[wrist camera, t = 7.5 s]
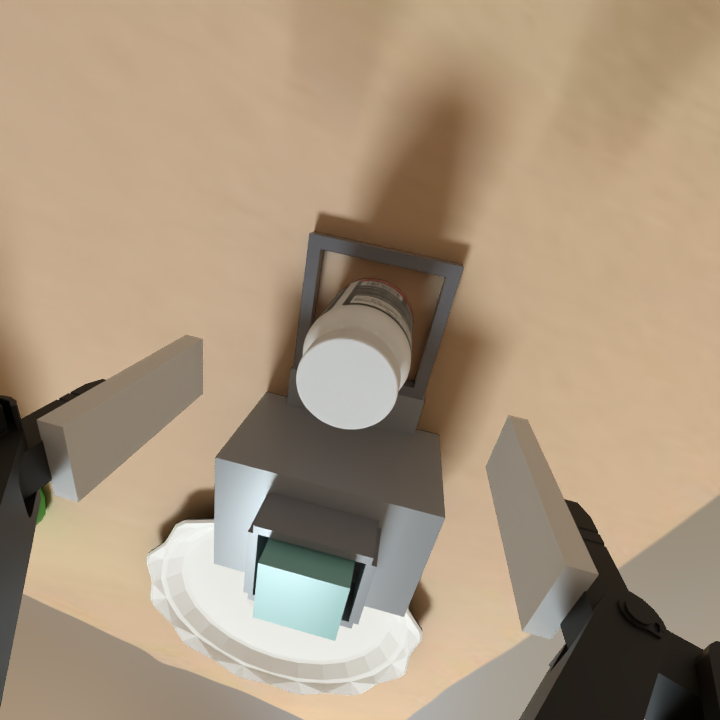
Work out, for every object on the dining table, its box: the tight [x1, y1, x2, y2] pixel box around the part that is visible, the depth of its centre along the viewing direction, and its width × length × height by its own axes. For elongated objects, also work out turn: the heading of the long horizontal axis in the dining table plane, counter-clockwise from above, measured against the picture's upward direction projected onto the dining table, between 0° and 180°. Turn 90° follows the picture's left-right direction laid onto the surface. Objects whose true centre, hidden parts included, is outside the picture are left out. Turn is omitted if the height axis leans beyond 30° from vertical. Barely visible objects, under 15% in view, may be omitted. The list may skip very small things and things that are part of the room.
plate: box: [146, 518, 422, 695], centre depth 39 cm, size 29×29×2 cm
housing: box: [214, 232, 464, 629], centre depth 23 cm, size 23×14×10 cm, turn 169°
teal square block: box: [253, 538, 355, 641], centre depth 21 cm, size 5×5×3 cm
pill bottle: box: [296, 279, 413, 429], centre depth 21 cm, size 6×6×10 cm
